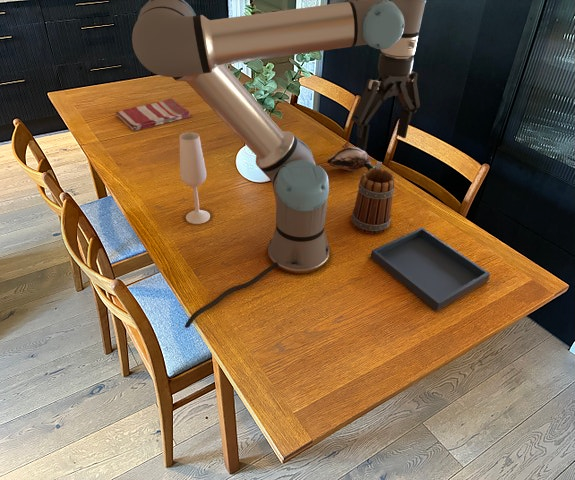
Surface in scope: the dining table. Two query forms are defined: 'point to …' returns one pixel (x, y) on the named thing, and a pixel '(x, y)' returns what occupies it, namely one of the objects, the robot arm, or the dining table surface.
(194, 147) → the champagne flute
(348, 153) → the decorative duck model
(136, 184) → the dining table surface
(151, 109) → the dish towel
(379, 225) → the mug
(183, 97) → the dining table surface
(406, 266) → the tray
